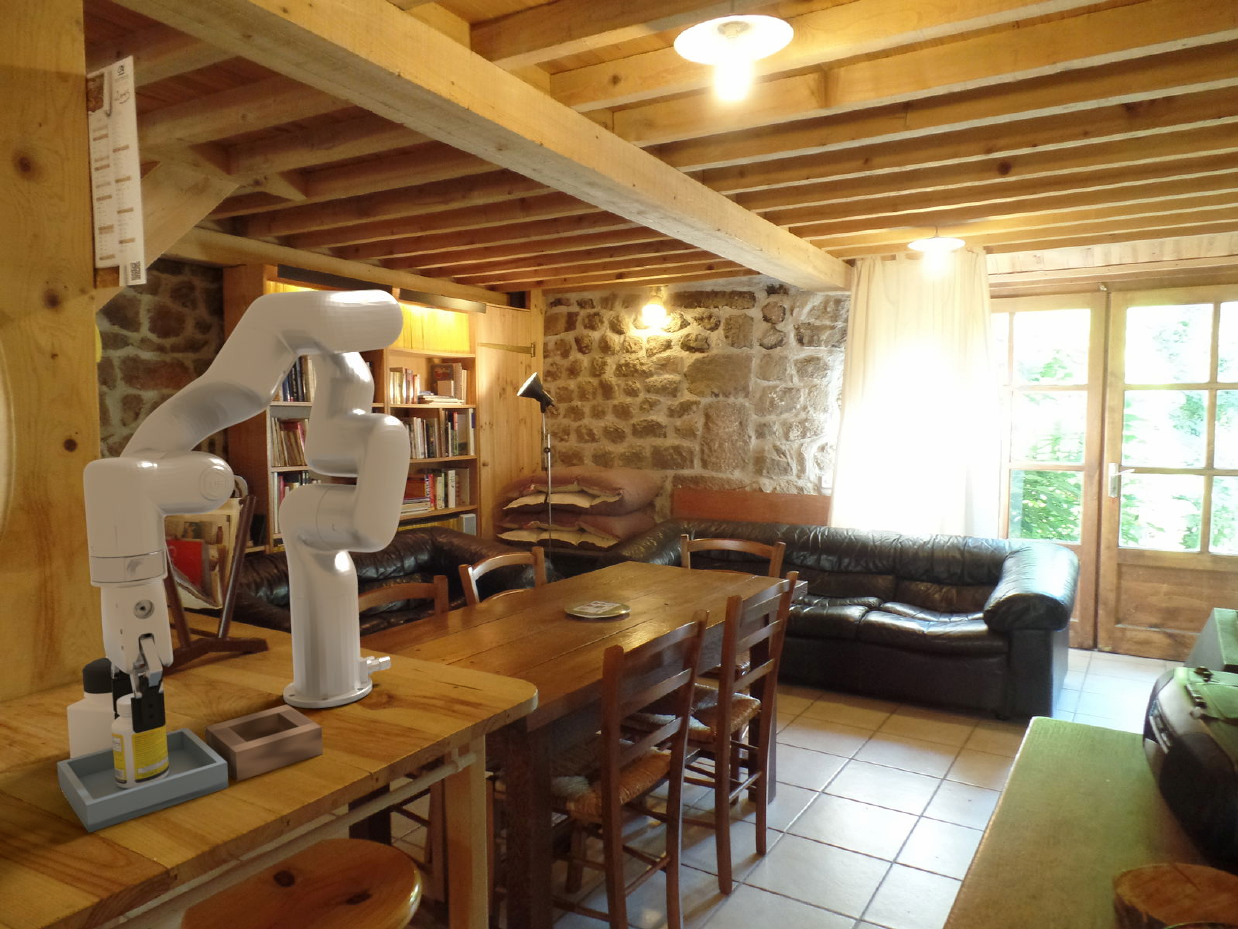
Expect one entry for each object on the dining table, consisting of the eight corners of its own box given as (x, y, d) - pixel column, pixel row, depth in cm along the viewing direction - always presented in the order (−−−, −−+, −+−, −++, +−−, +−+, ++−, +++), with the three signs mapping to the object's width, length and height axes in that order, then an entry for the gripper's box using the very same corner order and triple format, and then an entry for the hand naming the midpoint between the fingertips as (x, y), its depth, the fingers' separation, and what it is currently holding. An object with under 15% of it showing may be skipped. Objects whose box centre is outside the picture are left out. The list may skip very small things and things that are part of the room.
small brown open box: (288, 729, 114) (287, 704, 113) (322, 753, 106) (321, 726, 106) (206, 753, 106) (205, 726, 106) (237, 781, 99) (235, 752, 99)
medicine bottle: (119, 767, 103) (112, 671, 102) (69, 762, 105) (62, 667, 103) (161, 742, 110) (155, 652, 109) (114, 738, 111) (108, 649, 110)
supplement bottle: (178, 768, 101) (172, 688, 100) (154, 790, 95) (148, 706, 94) (132, 769, 101) (125, 689, 100) (105, 791, 95) (98, 707, 94)
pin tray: (188, 750, 108) (186, 727, 107) (228, 787, 98) (227, 762, 97) (58, 787, 98) (57, 762, 98) (88, 833, 88) (86, 805, 88)
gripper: (190, 574, 92) (199, 731, 93) (143, 551, 104) (152, 691, 106) (111, 586, 86) (123, 753, 88) (72, 561, 99) (83, 707, 101)
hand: (139, 718), depth 97 cm, fingers open, 7 cm apart
